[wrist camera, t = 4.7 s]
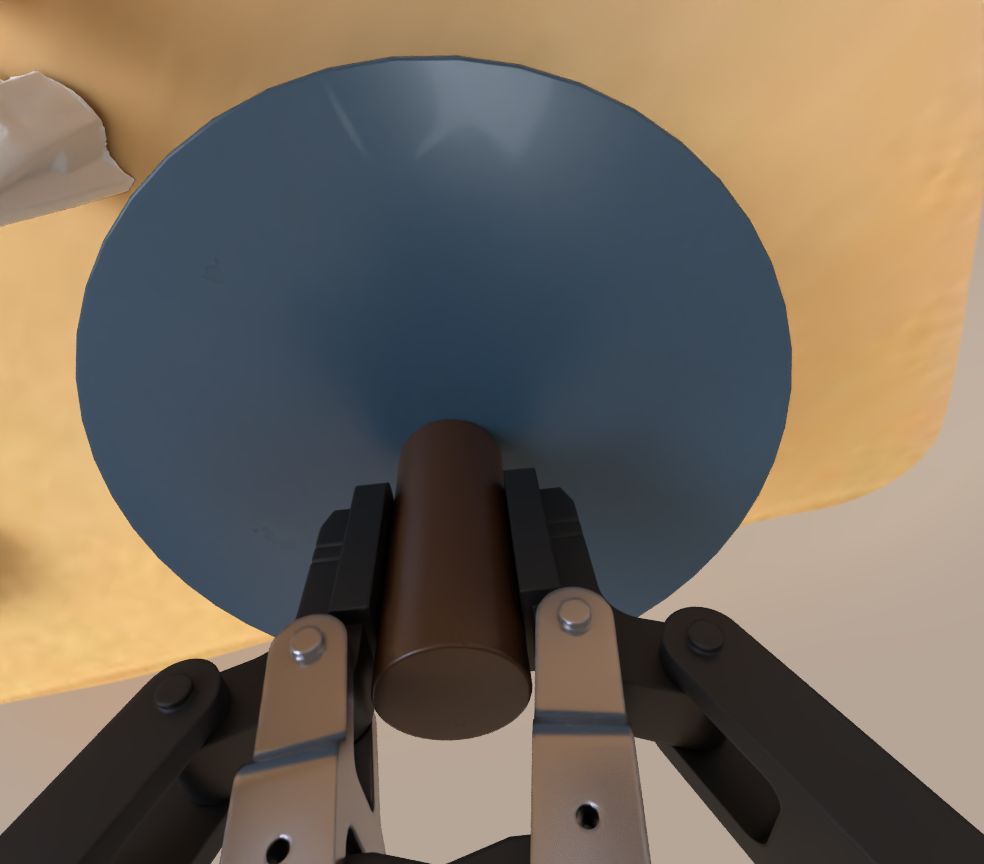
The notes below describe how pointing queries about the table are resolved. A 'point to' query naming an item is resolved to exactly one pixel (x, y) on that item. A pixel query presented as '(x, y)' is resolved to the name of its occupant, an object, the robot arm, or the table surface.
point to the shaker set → (51, 150)
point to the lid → (432, 356)
